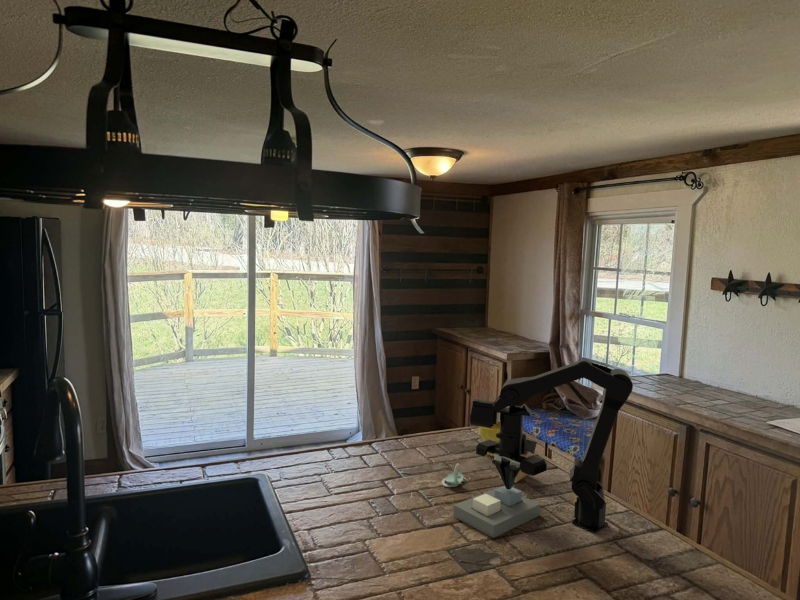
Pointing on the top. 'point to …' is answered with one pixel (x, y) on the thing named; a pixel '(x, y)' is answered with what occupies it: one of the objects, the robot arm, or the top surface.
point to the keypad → (497, 515)
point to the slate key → (508, 495)
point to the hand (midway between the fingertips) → (508, 488)
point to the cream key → (486, 504)
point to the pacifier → (453, 478)
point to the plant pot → (490, 434)
